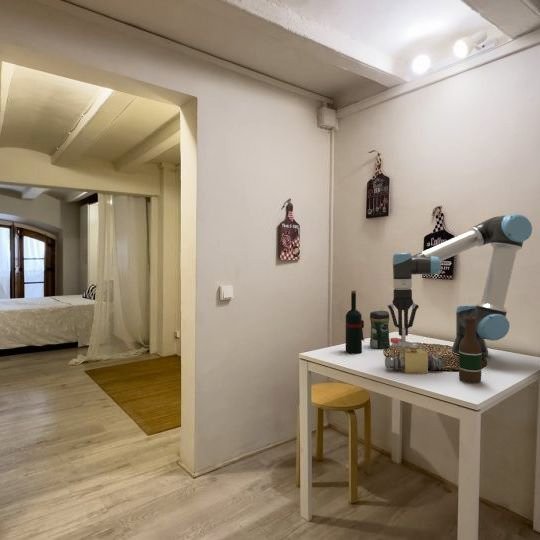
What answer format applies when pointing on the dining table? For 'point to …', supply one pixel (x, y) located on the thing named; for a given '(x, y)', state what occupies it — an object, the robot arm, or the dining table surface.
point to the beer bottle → (470, 354)
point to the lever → (405, 343)
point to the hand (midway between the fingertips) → (403, 343)
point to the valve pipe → (413, 361)
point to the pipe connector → (399, 346)
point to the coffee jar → (379, 329)
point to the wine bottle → (354, 328)
